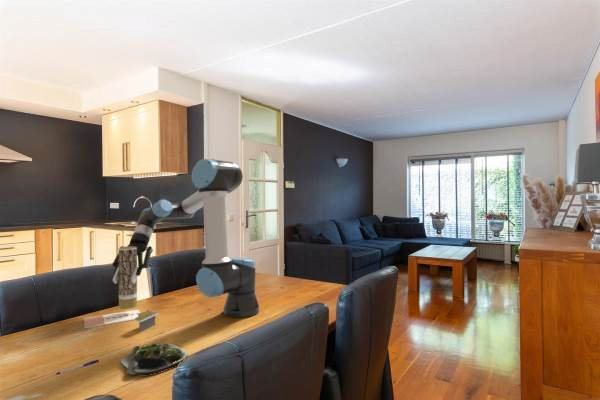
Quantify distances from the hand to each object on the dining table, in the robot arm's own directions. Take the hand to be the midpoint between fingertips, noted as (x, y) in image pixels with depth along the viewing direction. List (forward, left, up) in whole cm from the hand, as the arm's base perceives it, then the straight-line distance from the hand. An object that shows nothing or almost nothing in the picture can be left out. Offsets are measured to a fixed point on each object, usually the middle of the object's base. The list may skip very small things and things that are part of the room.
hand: (123, 281), depth 138 cm
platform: (-17, -6, -15) cm, 24 cm away
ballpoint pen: (-39, +15, -15) cm, 45 cm away
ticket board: (+1, +3, -15) cm, 15 cm away
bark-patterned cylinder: (+3, -2, -12) cm, 12 cm away
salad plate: (-47, -4, -15) cm, 50 cm away
